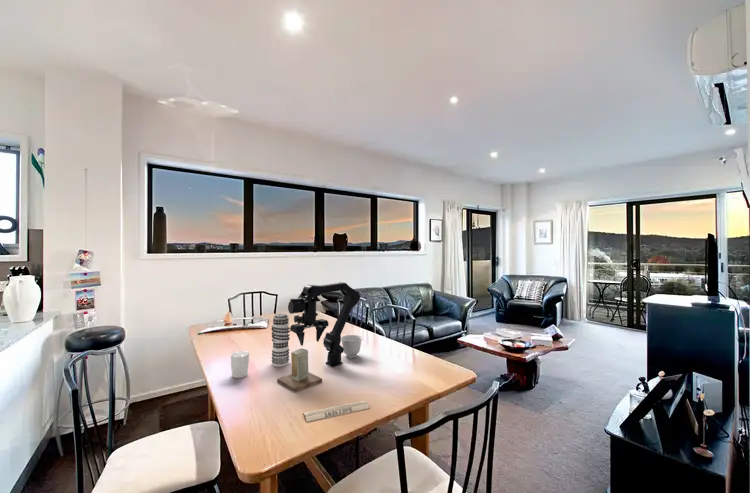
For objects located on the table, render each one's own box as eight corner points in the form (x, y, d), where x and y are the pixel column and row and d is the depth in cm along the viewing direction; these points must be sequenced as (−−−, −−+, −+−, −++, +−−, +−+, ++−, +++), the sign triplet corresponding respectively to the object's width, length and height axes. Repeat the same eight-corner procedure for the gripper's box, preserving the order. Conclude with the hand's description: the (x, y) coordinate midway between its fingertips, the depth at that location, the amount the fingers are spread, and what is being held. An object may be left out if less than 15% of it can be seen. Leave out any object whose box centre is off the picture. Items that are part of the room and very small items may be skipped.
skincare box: (302, 374, 147) (302, 347, 146) (309, 377, 144) (308, 349, 144) (291, 379, 142) (290, 351, 141) (297, 382, 139) (296, 353, 139)
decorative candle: (266, 364, 163) (267, 315, 163) (280, 359, 171) (280, 311, 171) (280, 368, 158) (281, 317, 158) (293, 362, 166) (294, 313, 166)
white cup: (229, 379, 144) (229, 357, 144) (231, 372, 152) (232, 351, 152) (247, 377, 146) (248, 355, 146) (249, 371, 154) (250, 350, 154)
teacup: (364, 351, 185) (364, 334, 185) (360, 360, 170) (361, 341, 170) (343, 350, 186) (343, 333, 186) (338, 359, 171) (338, 340, 171)
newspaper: (363, 403, 125) (363, 398, 125) (371, 411, 119) (371, 407, 119) (303, 416, 116) (303, 411, 116) (307, 426, 109) (307, 420, 109)
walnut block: (303, 375, 152) (303, 370, 152) (322, 384, 143) (322, 378, 143) (277, 384, 142) (277, 378, 142) (294, 394, 133) (294, 388, 133)
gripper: (315, 306, 168) (315, 336, 168) (284, 311, 155) (283, 343, 155) (329, 309, 161) (328, 340, 161) (297, 315, 147) (296, 349, 147)
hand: (309, 343), depth 156 cm, fingers open, 9 cm apart
